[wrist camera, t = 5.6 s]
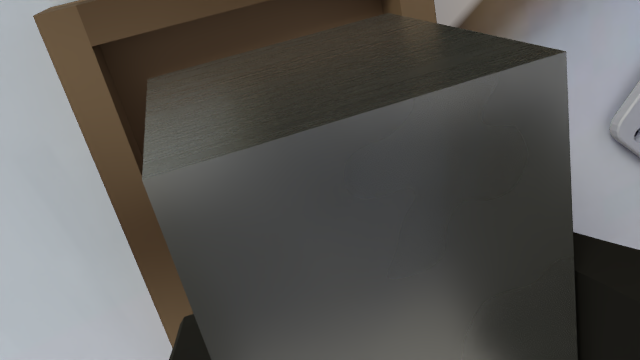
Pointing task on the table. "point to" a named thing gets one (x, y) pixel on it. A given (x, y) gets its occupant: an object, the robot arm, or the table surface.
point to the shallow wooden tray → (158, 59)
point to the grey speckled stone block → (370, 195)
